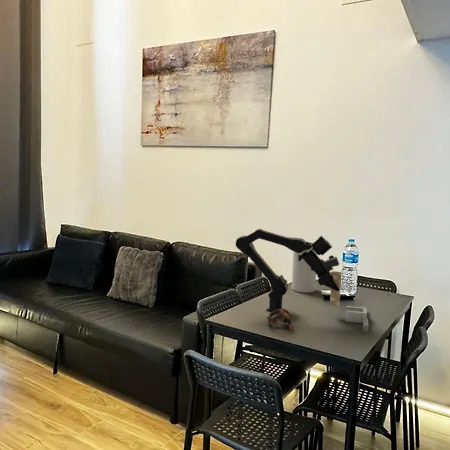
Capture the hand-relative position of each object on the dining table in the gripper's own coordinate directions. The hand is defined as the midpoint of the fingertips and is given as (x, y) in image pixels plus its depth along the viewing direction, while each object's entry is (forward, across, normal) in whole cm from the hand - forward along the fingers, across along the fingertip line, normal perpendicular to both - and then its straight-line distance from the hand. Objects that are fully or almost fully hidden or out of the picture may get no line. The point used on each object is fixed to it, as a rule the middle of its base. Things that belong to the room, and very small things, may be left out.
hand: (339, 289), depth 189 cm
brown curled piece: (-6, -20, +24) cm, 32 cm away
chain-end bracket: (+14, 0, +4) cm, 14 cm away
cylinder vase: (-4, +42, +22) cm, 47 cm away
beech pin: (+4, 0, +6) cm, 7 cm away
